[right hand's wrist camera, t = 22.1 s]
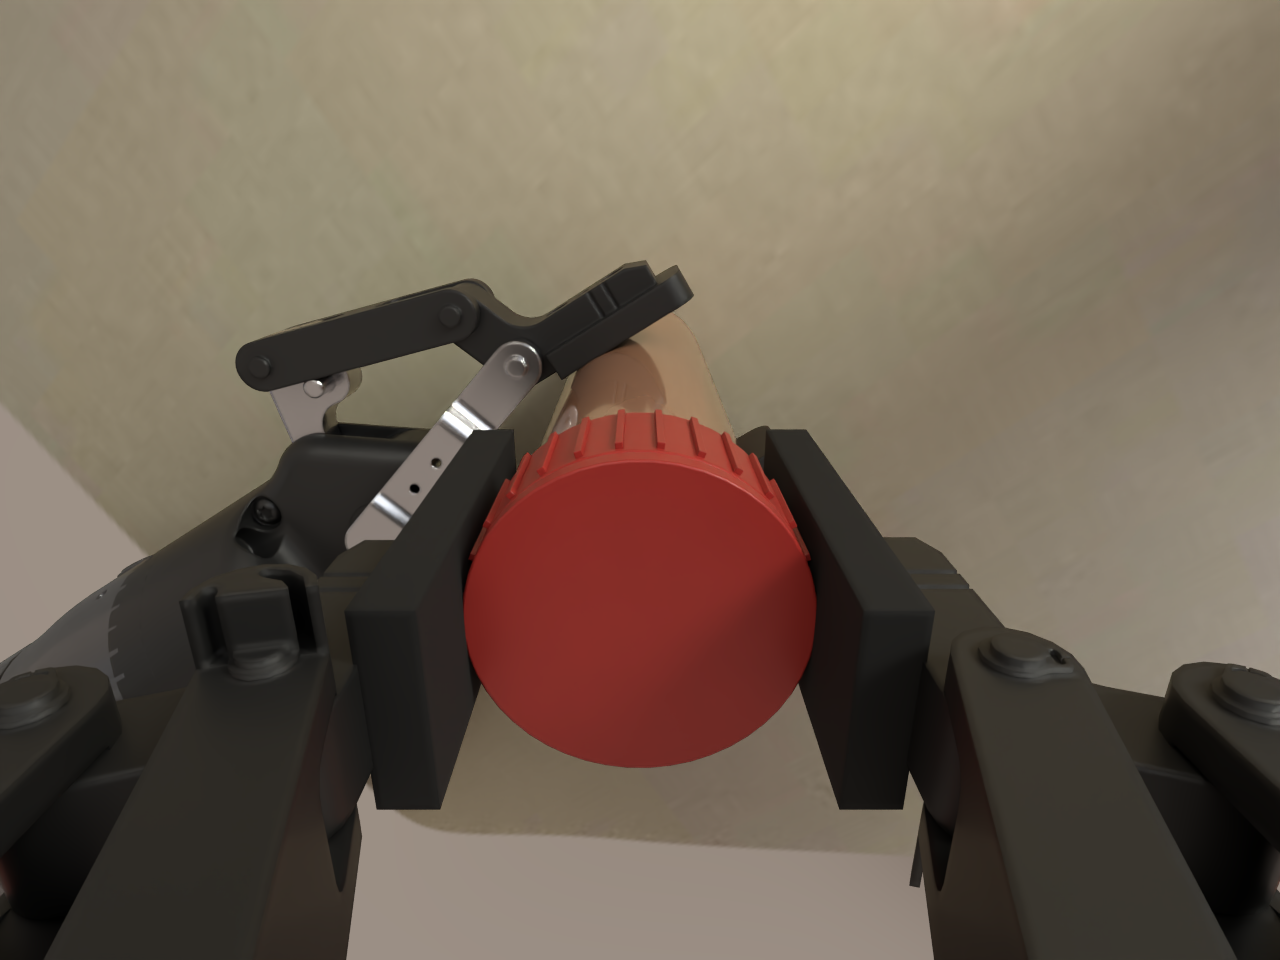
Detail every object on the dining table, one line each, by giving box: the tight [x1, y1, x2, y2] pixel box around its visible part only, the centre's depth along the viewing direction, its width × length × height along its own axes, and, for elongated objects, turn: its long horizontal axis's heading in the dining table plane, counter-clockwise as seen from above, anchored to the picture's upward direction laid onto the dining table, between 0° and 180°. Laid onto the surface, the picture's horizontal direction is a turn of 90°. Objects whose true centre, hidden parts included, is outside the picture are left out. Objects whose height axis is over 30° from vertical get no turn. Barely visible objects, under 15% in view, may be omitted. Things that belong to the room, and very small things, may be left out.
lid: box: [463, 409, 817, 768], centre depth 11 cm, size 5×5×2 cm
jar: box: [540, 312, 739, 447], centre depth 18 cm, size 4×4×16 cm
